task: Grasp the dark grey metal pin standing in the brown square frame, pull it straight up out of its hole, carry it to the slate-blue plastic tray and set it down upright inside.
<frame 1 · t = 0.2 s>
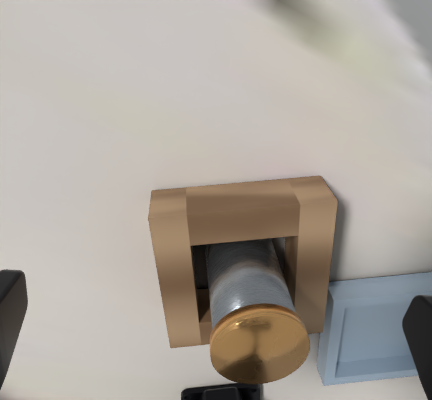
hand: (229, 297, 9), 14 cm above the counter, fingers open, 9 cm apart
tray: (378, 321, 30), on the counter
pin: (248, 293, 22), in the brown square frame
brown square frame: (239, 250, 26), on the counter
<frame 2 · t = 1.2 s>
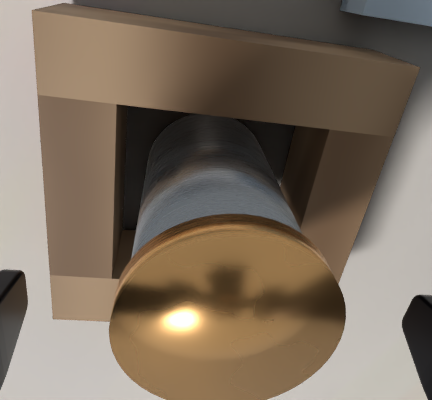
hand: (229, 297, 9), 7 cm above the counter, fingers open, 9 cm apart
pin: (214, 227, 12), in the brown square frame
brown square frame: (206, 169, 15), on the counter
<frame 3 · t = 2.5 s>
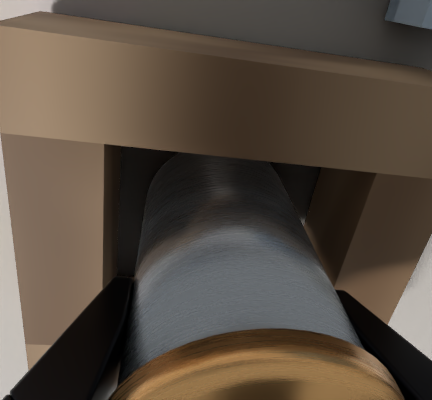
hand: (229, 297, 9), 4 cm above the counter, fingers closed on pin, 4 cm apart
pin: (229, 296, 9), in the brown square frame, touching gripper
brown square frame: (216, 208, 13), on the counter
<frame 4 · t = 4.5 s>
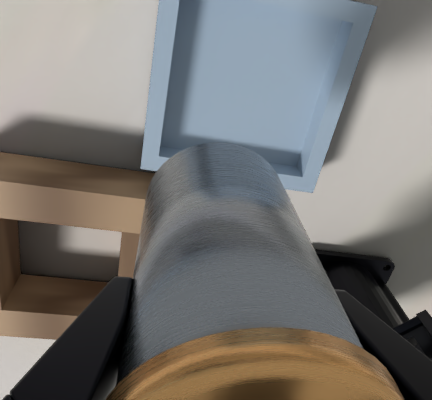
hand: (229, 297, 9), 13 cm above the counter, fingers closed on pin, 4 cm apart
tray: (244, 84, 20), on the counter
pin: (228, 295, 9), point 13 cm above the counter, touching gripper
brown square frame: (72, 239, 23), on the counter
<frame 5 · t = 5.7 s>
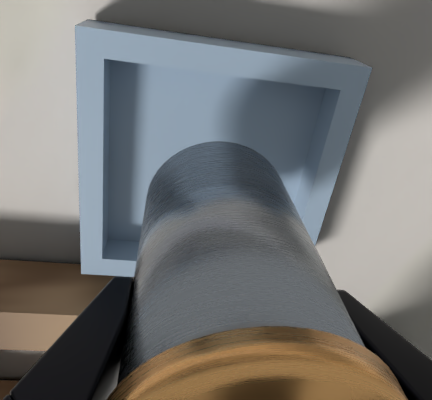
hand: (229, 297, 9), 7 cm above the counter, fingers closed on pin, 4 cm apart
tray: (207, 161, 16), on the counter
pin: (229, 294, 9), point 8 cm above the counter, touching gripper
brown square frame: (17, 341, 19), on the counter
when the fingers open (6 cm above the counter, at t = 6.8 s): pin drops 1 cm, resting on tray.
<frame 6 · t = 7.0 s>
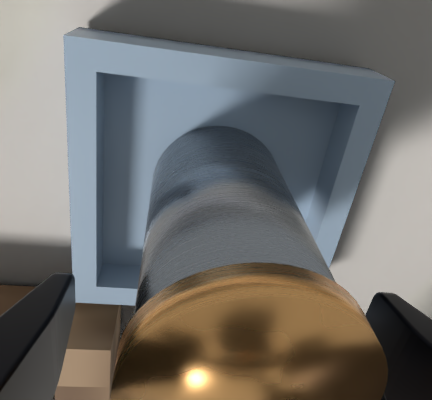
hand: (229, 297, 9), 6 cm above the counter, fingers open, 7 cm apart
tray: (211, 180, 14), on the counter
pin: (227, 257, 10), in the tray
brown square frame: (7, 368, 18), on the counter
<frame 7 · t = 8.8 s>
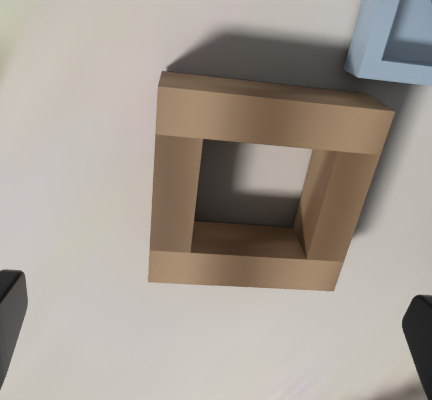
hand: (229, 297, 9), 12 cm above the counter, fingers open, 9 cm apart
brown square frame: (250, 177, 21), on the counter
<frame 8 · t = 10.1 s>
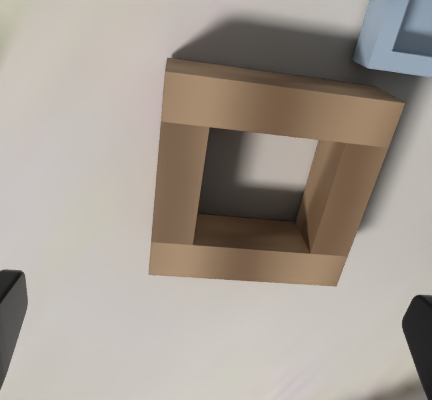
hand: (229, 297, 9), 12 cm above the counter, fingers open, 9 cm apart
brown square frame: (254, 169, 21), on the counter
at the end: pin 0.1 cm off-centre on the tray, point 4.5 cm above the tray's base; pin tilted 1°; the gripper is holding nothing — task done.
